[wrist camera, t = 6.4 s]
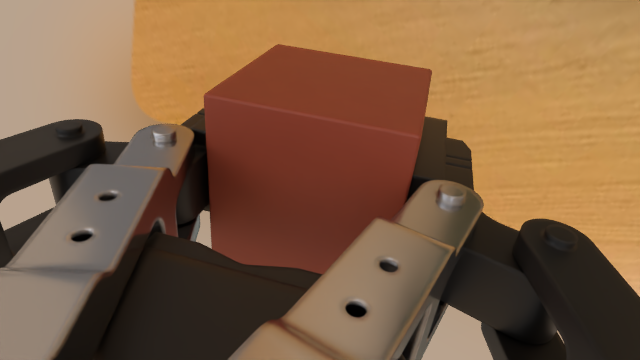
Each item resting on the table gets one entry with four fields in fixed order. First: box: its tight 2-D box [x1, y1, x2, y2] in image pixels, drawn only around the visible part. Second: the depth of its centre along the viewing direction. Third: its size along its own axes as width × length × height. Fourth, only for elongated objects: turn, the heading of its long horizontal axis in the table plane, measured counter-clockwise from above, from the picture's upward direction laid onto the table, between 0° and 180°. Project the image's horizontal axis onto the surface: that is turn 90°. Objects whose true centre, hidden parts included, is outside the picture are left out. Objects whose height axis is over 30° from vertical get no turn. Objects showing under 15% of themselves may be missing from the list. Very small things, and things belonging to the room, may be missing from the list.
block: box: [204, 44, 432, 274], centre depth 11 cm, size 4×4×4 cm
